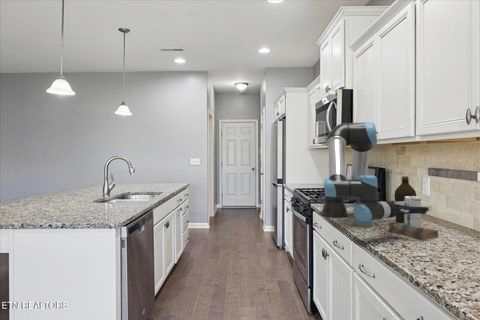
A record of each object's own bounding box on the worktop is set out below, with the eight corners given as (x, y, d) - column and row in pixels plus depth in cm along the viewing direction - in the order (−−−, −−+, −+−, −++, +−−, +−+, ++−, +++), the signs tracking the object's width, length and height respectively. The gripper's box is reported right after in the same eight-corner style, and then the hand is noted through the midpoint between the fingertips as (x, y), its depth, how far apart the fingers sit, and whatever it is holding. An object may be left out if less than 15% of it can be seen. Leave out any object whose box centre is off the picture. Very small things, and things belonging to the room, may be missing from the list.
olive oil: (413, 225, 173) (413, 177, 173) (391, 222, 180) (391, 176, 180) (418, 222, 181) (418, 176, 181) (398, 219, 188) (398, 175, 188)
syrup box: (403, 226, 159) (403, 196, 158) (417, 226, 158) (417, 196, 157) (407, 229, 153) (407, 197, 153) (421, 229, 152) (421, 197, 152)
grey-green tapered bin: (356, 222, 182) (356, 200, 182) (376, 224, 177) (376, 202, 176) (352, 226, 173) (352, 203, 173) (372, 228, 168) (372, 204, 168)
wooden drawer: (388, 231, 161) (388, 221, 161) (403, 229, 166) (403, 219, 166) (422, 240, 145) (422, 229, 145) (438, 237, 149) (438, 226, 149)
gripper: (363, 213, 159) (394, 209, 168) (409, 223, 136) (443, 218, 145) (363, 198, 159) (394, 195, 168) (409, 205, 136) (443, 201, 145)
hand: (417, 205), depth 157 cm, fingers open, 13 cm apart
